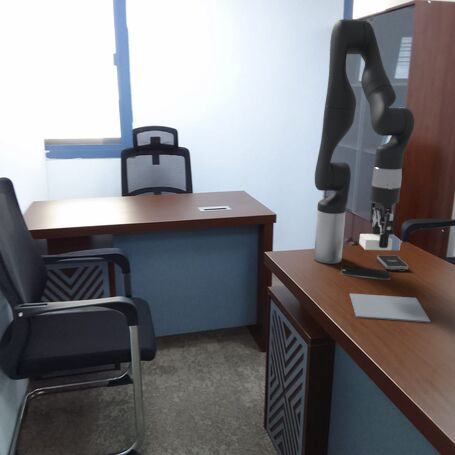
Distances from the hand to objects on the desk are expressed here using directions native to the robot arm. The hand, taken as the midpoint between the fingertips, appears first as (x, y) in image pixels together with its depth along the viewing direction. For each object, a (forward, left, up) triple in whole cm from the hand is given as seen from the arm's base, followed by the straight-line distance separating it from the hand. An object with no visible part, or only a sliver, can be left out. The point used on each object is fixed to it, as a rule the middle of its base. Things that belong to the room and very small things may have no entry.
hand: (379, 243), depth 130 cm
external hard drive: (-23, +10, -15) cm, 30 cm away
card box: (0, 0, -1) cm, 1 cm away
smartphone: (-14, 0, -15) cm, 21 cm away
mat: (+11, +2, -14) cm, 18 cm away
